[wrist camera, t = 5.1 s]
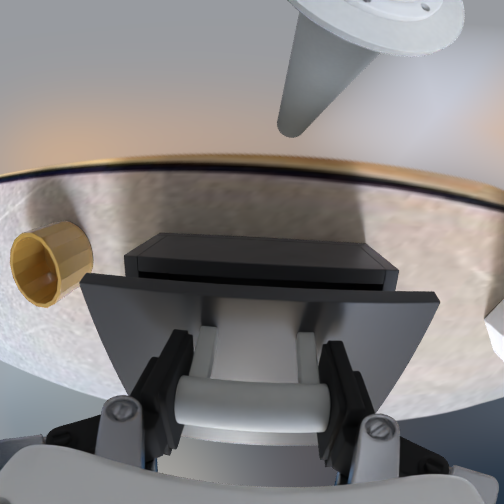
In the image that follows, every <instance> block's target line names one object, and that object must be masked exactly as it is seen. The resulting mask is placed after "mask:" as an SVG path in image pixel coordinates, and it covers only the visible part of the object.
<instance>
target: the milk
mask: <svg viewBox="0 0 504 504" xmlns="http://www.w3.org/2000/svg"><path fill="white" fill-rule="evenodd" d="M484 321H485V324H486V328H487V331H488V334H489V337H490V341H491V344H492V347H493V351H494V352H495V353H496V354H497V355H498V356H499V357H500V358H501V359H502V360H503V361H504V299H503V300H502V301H501V302H500V303H499V304H498V305H497V306H496V308H495V309H494V310H493V311H492V312H491V313H490V314H489V315H488V316H487V317H486V318H485V319H484Z"/></svg>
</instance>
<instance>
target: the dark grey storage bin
mask: <svg viewBox="0 0 504 504" xmlns="http://www.w3.org/2000/svg"><path fill="white" fill-rule="evenodd" d="M124 264H125V275H126V277H136V278H147V279H159V280H171V281H184V282H198V283H212V284H227V285H243V286H261V287H280V288H302V289H328V290H361V291H395V289H396V284H397V279H398V274H399V270H398V269H397V268H396V267H394V266H393V265H392V264H391V263H390V262H388V261H387V260H386V259H385V258H383V257H382V256H381V255H380V254H378V253H377V252H376V251H375V250H373V249H372V248H371V247H369V246H368V245H367V244H364V243H349V242H333V241H316V240H299V239H281V238H263V237H243V236H223V235H201V234H178V233H159V234H157V235H156V236H154V237H152V238H151V239H149V240H148V241H146V242H144V243H143V244H141V245H140V246H138V247H136V248H135V249H133V250H132V251H130V252H129V253H127V254H125V255H124Z"/></svg>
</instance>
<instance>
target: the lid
mask: <svg viewBox="0 0 504 504" xmlns="http://www.w3.org/2000/svg"><path fill="white" fill-rule="evenodd" d="M79 284H80V287H81V290H82V293H83V296H84V298H85V301H86V304H87V306H88V309H89V312H90V314H91V317H92V319H93V322H94V324H95V326H96V329H97V331H98V334H99V336H100V338H101V341H102V343H103V345H104V347H105V349H106V352H107V354H108V356H109V358H110V360H111V362H112V364H113V367H114V369H115V371H116V373H117V375H118V377H119V379H120V381H121V382H122V384H123V386H124V388H125V390H126V392H127V394H128V396H130V394H131V392H132V390H133V389H134V387H135V385H136V383H137V381H138V380H139V378H140V376H141V374H142V373H143V371H144V369H145V367H146V366H147V364H148V362H149V360H150V359H151V357H153V356H154V357H159V356H160V354H161V352H162V350H163V348H164V346H165V345H166V343H167V341H168V339H169V337H170V335H171V334H172V332H173V330H174V329H179V330H187V331H188V333H189V334H191V335H193V346H194V356H193V360H192V364H191V368H190V372H189V376H185V375H183V376H181V378H180V379H179V382H178V384H177V388H176V393H175V401H174V412H175V418H176V421H177V422H178V423H179V424H185V425H184V428H183V431H182V434H181V437H186V438H193V439H200V440H208V441H216V442H226V443H237V444H238V443H239V444H251V445H277V446H282V445H283V446H305V445H318V440H317V432H324V431H325V430H326V429H327V426H328V423H329V418H330V409H331V401H330V392H329V388H328V386H327V384H320V379H319V370H318V364H319V360H320V355H321V350H322V346H323V344H327V342H328V341H329V340H341V341H342V342H343V344H344V347H345V350H346V353H347V355H348V358H349V361H350V364H351V367H352V370H353V371H359V372H360V373H361V375H362V378H363V380H364V383H365V386H366V389H367V391H368V394H369V397H370V400H371V402H372V405H373V408H374V411H375V413H376V412H377V411H378V409H379V408H380V406H381V405H382V403H383V402H384V401H385V399H386V398H387V396H388V395H389V393H390V392H391V390H392V389H393V387H394V385H395V384H396V382H397V381H398V379H399V378H400V376H401V374H402V373H403V371H404V370H405V368H406V366H407V365H408V363H409V361H410V359H411V358H412V356H413V354H414V352H415V351H416V349H417V347H418V345H419V344H420V342H421V340H422V338H423V336H424V334H425V332H426V330H427V328H428V327H429V325H430V323H431V321H432V319H433V317H434V315H435V312H436V310H437V308H438V306H439V304H440V301H439V299H438V297H437V296H436V294H435V292H425V291H361V290H328V289H302V288H280V287H261V286H243V285H227V284H212V283H198V282H184V281H171V280H159V279H147V278H136V277H125V276H115V275H105V274H95V273H86V274H85V275H84V276H83V278H82V279H81V280H80V282H79Z"/></svg>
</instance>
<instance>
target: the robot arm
mask: <svg viewBox="0 0 504 504" xmlns="http://www.w3.org/2000/svg"><path fill="white" fill-rule="evenodd" d="M344 1H345V2H347V3H349V4H350V5H352V6H355V7H357V8H359V9H361V10H363V11H365V12H368V13H370V14H373V15H376V16H378V17H382V18H386V19H390V20H395V21H403V22H414V21H420V20H424V19H427V18H428V17H430V16H432V15H433V14H434V13H435V12H436V11H438V10H439V9H440V7H441V5H442V3H443V0H344ZM193 356H194V346H193V335H191V334H189V333H188V331H187V330H179V329H174V330H173V332H172V334H171V335H170V337H169V339H168V341H167V343H166V345H165V346H164V348H163V350H162V352H161V354H160V356H159V357H154V356H153V357H151V359H150V360H149V362H148V364H147V366H146V367H145V369H144V371H143V373H142V374H141V376H140V378H139V380H138V381H137V383H136V385H135V387H134V389H133V390H132V392H131V394H130V396H126V395H120V396H115V397H112V398H110V399H109V400H107V401H106V402H105V404H104V405H103V408H102V412H101V415H97V416H94V417H91V418H88V419H84V420H81V421H78V422H74V423H71V424H67V425H63V426H60V427H57V428H54V429H53V430H51V431H50V432H49V433H48V435H47V437H43V436H42V434H40V435H34V436H27V437H19V438H10V439H3V440H0V504H495V503H496V499H497V495H498V491H499V485H498V482H497V480H496V479H495V478H494V477H492V476H490V475H486V474H482V473H479V472H476V471H472V470H469V469H466V468H462V467H459V466H456V465H454V466H453V467H449V464H448V462H447V461H446V460H445V458H444V457H442V456H440V455H439V454H436V453H434V452H432V451H430V450H427V449H425V448H423V447H421V446H419V445H417V444H415V443H413V442H411V441H409V440H407V439H405V438H403V437H401V436H400V429H399V425H398V423H397V422H396V421H395V420H394V419H393V418H392V417H390V416H388V415H384V414H375V411H374V408H373V405H372V402H371V400H370V397H369V394H368V391H367V389H366V386H365V383H364V380H363V378H362V375H361V373H360V372H359V371H353V370H352V367H351V364H350V361H349V358H348V355H347V353H346V350H345V347H344V344H343V342H342V341H341V340H329V341H328V342H327V344H323V346H322V350H321V355H320V360H319V364H318V370H319V379H320V384H327V386H328V388H329V392H330V401H331V409H330V418H329V423H328V426H327V429H326V430H325V431H324V432H317V440H318V448H319V456H320V460H325V467H332V468H333V469H335V470H336V471H338V472H337V476H336V481H335V485H334V486H323V487H258V486H257V487H256V486H242V485H232V484H223V483H214V482H206V481H200V480H194V479H188V478H182V477H177V476H172V475H167V474H163V473H158V469H157V458H158V457H160V456H163V454H165V455H170V454H171V451H172V449H177V447H178V444H179V440H180V437H181V434H182V431H183V428H184V425H185V424H179V423H178V422H177V421H176V418H175V412H174V401H175V393H176V388H177V384H178V382H179V379H180V378H181V376H183V375H185V376H189V372H190V368H191V364H192V360H193Z"/></svg>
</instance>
